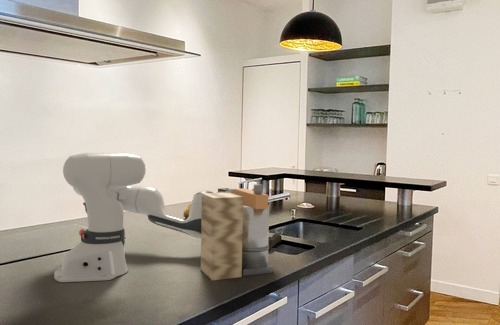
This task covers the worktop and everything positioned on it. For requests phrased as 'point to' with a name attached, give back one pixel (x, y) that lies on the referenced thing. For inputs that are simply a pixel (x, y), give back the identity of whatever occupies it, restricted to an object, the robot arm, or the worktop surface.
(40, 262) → the worktop surface
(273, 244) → the hand tool
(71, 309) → the worktop surface
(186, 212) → the bread roll
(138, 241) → the worktop surface
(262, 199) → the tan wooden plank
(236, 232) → the zigzag patterned pillar
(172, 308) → the worktop surface
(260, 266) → the motor housing
